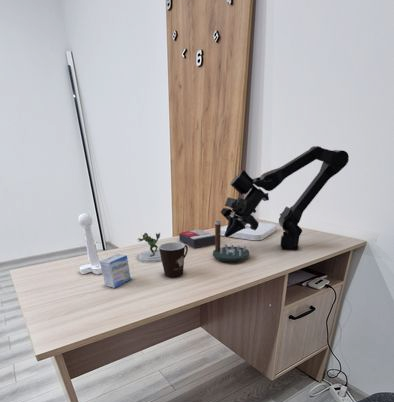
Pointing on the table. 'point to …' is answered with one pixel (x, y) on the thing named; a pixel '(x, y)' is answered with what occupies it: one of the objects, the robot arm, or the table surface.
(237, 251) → the pegged disc stand
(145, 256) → the monster figurine
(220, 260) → the turntable base
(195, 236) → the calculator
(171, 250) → the coffee mug
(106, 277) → the medicine box
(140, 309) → the table surface
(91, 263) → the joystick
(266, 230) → the computer
